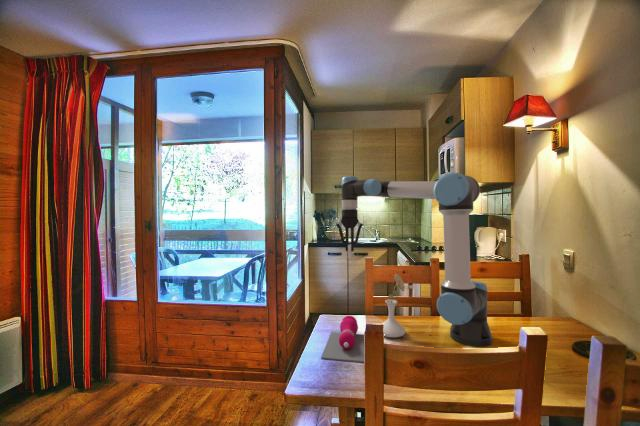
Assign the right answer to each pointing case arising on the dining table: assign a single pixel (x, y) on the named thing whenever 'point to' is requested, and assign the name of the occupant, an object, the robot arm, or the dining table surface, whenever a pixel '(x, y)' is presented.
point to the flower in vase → (391, 324)
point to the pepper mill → (348, 332)
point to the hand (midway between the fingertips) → (349, 258)
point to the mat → (338, 353)
